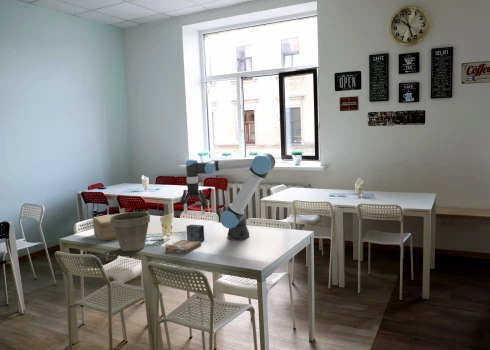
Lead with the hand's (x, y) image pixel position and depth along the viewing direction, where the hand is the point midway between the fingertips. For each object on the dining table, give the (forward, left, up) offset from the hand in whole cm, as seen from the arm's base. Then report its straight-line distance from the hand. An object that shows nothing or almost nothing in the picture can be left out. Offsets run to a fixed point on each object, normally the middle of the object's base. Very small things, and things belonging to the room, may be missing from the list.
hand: (194, 213), depth 279 cm
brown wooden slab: (-2, +18, -18) cm, 26 cm away
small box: (0, 0, -19) cm, 19 cm away
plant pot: (+31, +28, -19) cm, 46 cm away
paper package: (+65, +5, -19) cm, 68 cm away
